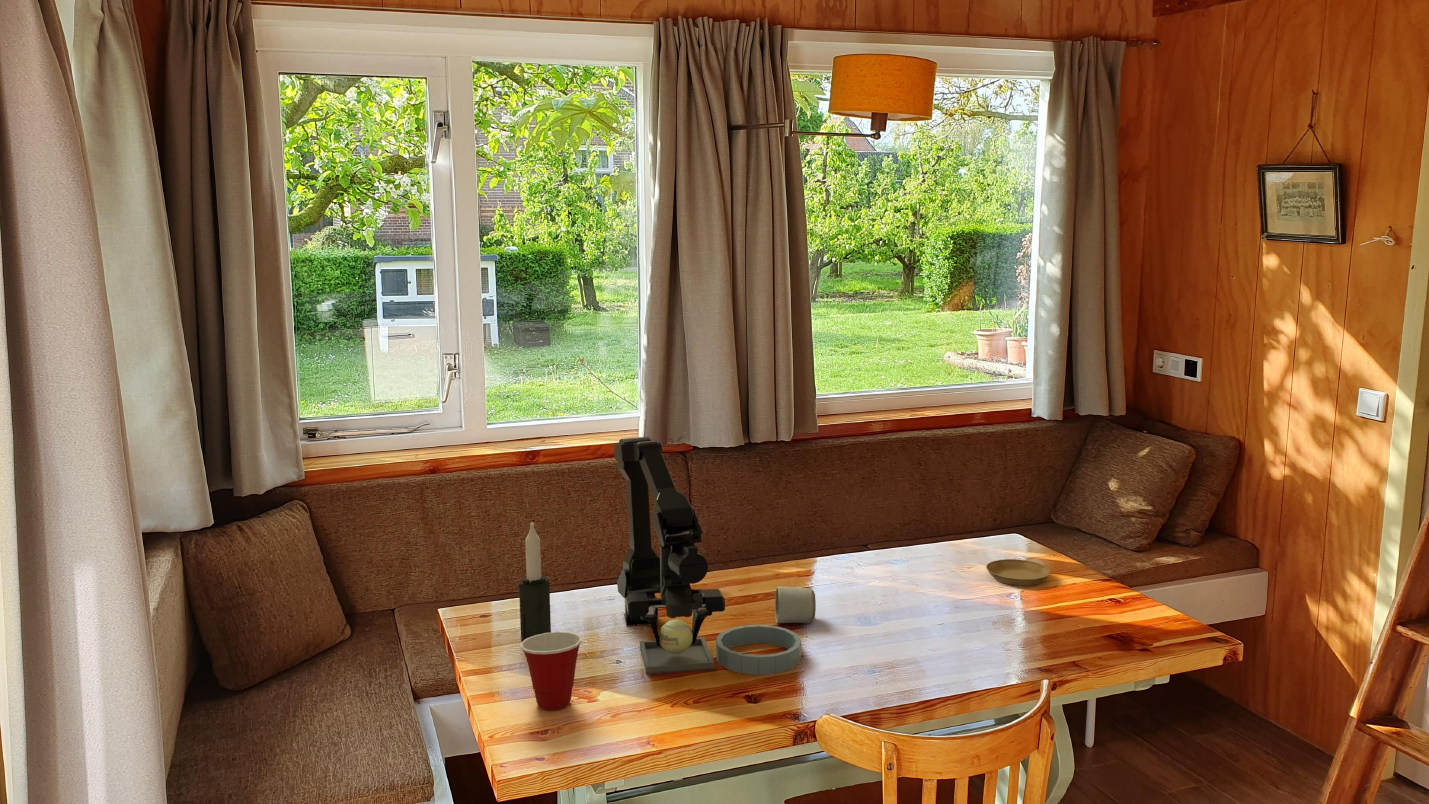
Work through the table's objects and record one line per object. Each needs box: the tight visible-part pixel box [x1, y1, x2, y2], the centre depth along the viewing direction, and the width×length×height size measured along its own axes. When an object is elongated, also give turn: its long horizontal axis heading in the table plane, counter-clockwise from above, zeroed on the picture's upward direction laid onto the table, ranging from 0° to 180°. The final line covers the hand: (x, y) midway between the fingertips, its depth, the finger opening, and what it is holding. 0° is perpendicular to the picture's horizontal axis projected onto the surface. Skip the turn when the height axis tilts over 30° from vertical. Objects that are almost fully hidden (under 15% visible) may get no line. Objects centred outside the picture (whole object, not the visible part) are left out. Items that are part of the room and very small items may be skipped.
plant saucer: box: [985, 558, 1052, 587], centre depth 260 cm, size 15×15×3 cm
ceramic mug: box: [774, 585, 817, 624], centre depth 235 cm, size 11×8×8 cm
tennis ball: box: [659, 618, 693, 654], centre depth 213 cm, size 6×7×7 cm
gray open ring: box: [715, 624, 802, 676], centre depth 214 cm, size 16×16×4 cm
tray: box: [639, 636, 715, 676], centre depth 214 cm, size 13×13×2 cm
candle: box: [518, 521, 552, 643], centre depth 221 cm, size 5×5×25 cm
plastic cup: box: [519, 631, 583, 712], centre depth 194 cm, size 11×11×12 cm
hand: (675, 644), depth 214 cm, fingers closed on tennis ball, 6 cm apart
